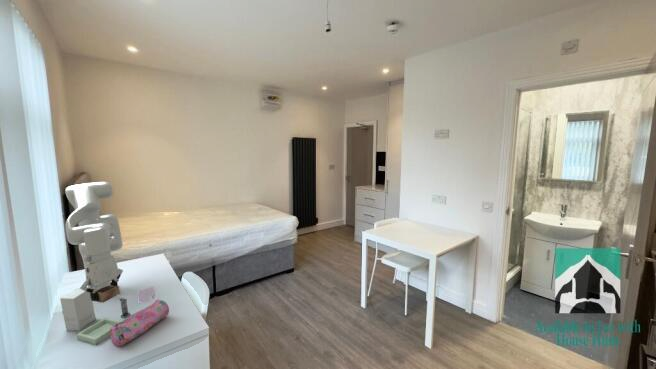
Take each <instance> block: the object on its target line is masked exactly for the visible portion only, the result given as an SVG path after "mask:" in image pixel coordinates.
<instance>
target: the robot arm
mask: <svg viewBox="0 0 656 369" xmlns="http://www.w3.org/2000/svg"><path fill="white" fill-rule="evenodd" d="M65 195H66V198H67V200H68V202H69V203H70V204H71V206H72V207H73V209H74V211H72V212H71V213H70V214H69V216H68V218H67V219H66V220H65V224H64V225H65V235H66V239H67V241H68V243H69V244H71V245H74V246H76V245H78V250H79V254H80V256H81V258H82V261H83V262H82V263H83V266H84V274H85V281H84V282H83V284H82V285H81V286H80V287H79V288H80V289H82V290H84V291H86V292H90V294H91V299H92V300H93V302H96V301H99V296H98V292H96V290H97V289H99V288H101V287H103V286H105V285H107V284H108V285H113V286H119V285H118V282H119V279H120V278H121V276H122V274H123V272H124V269H121V268H119V267H118V264H117V261H116V258H115V256H114V255H111V254H112V253H113V252H116V251H120V250H121V249H122V248H123V238H122V234H121V233H122V232H121V228H120V222H119V220H118V217H117V216H116V215H115V214H111V213H109V214H103V215H100V212H101V210H102V205H101V204H102V203H101V201H100V200H103V199H105V200H106V199H111V198H112V197H114V188H113V185H112V183H110V182H109V181H97V182H87V183H80V184H78V183H77V184H74V185H69V186H67V187H66V188H65ZM77 225H78V226H77Z"/></svg>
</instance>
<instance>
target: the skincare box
mask: <svg viewBox="0 0 656 369" xmlns="http://www.w3.org/2000/svg"><path fill="white" fill-rule="evenodd" d="M59 300H60V305H61V310H62V316H63V321H64V325H65V330H66V331H69V332H70V331H81V330H83V328H84V329H85V327H86V326H88V325H89V324H91V323H92V322H93V321H94V320H96V313H95V306H94V301H91V297H90V292H86V291H84V290H82V289H80V287H76V288H75V289H73V290H72V291H70V292H68V293H67V294H64V295H63V296H62V297H60V298H59Z"/></svg>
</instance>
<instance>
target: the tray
mask: <svg viewBox="0 0 656 369" xmlns="http://www.w3.org/2000/svg"><path fill="white" fill-rule="evenodd" d="M122 321H123V320H117V319H112V318H108V317H104V318H103V319H101V320H98V321H97V322H95V323H94V324H92V325H90V326H88V327H86V328H84V329H82V331H81V330H80V331H79V332H78V333H76V340H77V341H79V342H83V343H88V344H91V345H94V346H97V345H98V344H100V343H102V342H103V341H105V340H106V339H108V338H109V337H111V333H110V328H111V327H112V326H114V325H115V324H118V323H119V322H122Z"/></svg>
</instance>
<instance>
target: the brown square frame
mask: <svg viewBox="0 0 656 369" xmlns="http://www.w3.org/2000/svg"><path fill="white" fill-rule="evenodd" d="M96 292H98V296H99V301H95V302H97V303H105V302H107V301H109V300H111V299H113V298H115V297H117V296H119V295H121V289H120V285H118V286H113V285H108V284H107V285H105V286H103V287H101V288H99V289H97V290H96ZM90 297H91V294H90ZM91 301H93V300H92V299H91ZM93 302H94V301H93Z"/></svg>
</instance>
